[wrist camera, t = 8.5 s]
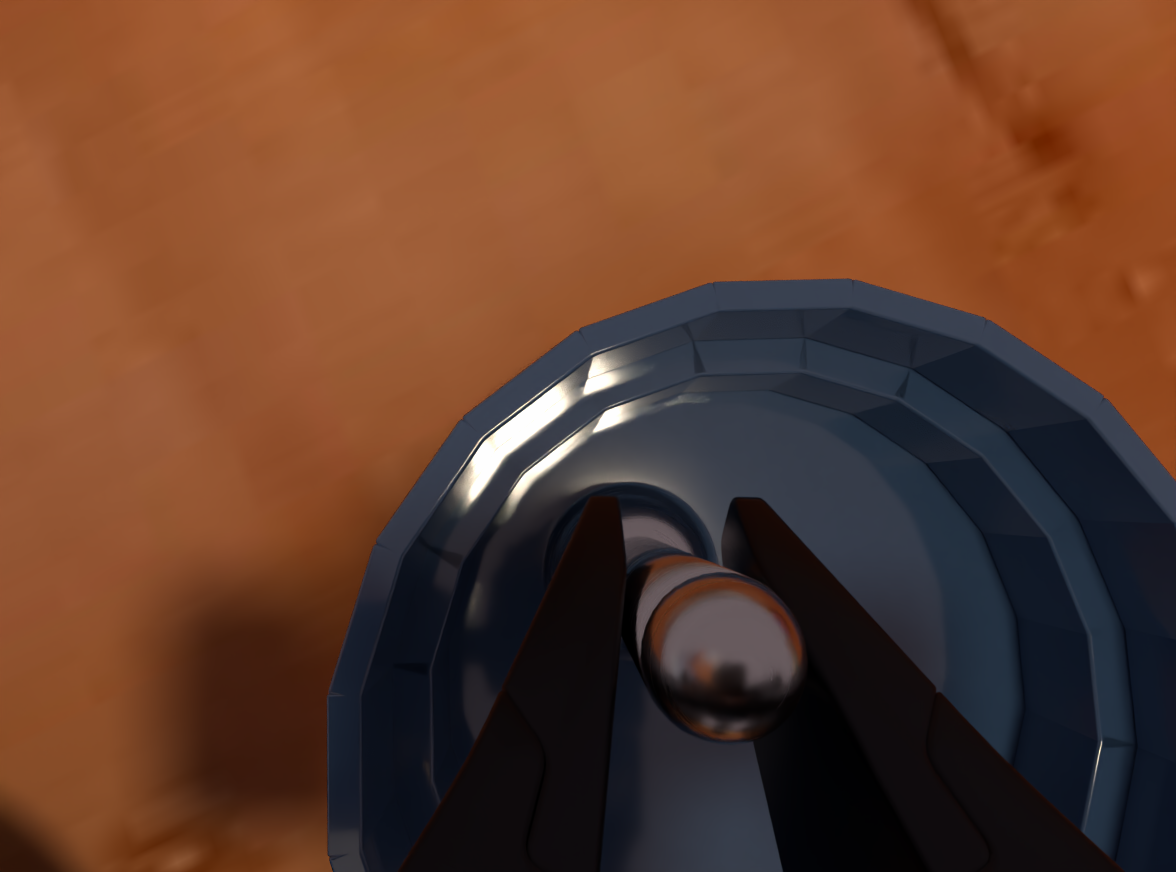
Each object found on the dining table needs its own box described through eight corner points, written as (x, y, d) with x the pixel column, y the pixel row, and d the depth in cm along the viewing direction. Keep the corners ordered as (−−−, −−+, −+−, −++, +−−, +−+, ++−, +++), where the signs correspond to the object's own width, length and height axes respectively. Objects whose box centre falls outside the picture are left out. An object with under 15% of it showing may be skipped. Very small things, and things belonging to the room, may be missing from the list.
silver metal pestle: (730, 558, 17) (1047, 666, 6) (624, 674, 17) (757, 1011, 6) (618, 451, 17) (732, 367, 6) (511, 564, 17) (428, 686, 6)
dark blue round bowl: (534, 1145, 17) (524, 1462, 11) (307, 472, 18) (196, 461, 12) (1159, 867, 18) (1425, 1029, 12) (908, 258, 19) (1050, 162, 14)
